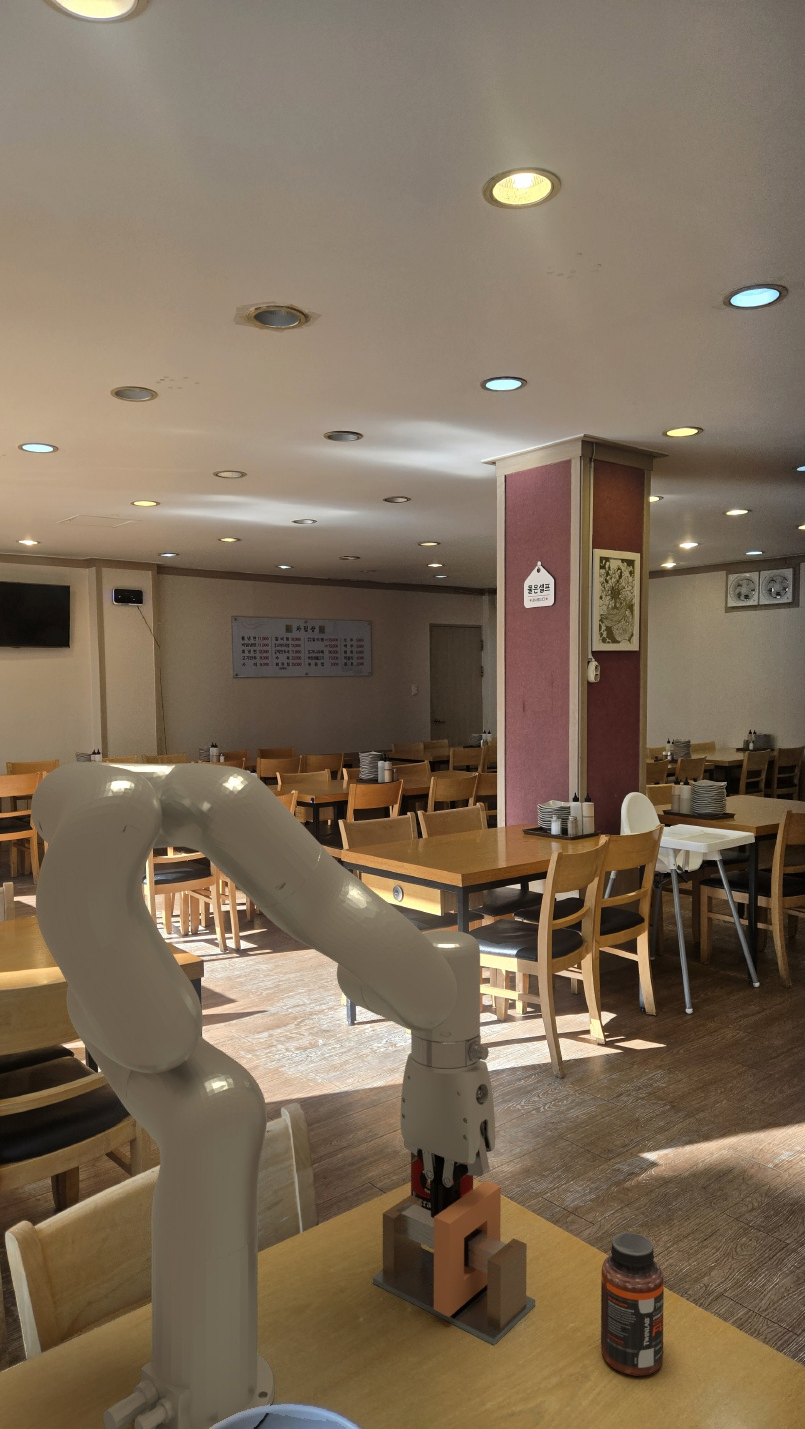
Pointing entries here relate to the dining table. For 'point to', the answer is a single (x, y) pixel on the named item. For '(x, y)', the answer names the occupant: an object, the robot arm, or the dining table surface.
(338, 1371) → the dining table surface
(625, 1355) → the supplement bottle
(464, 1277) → the collar
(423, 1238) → the stand
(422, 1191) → the canned food
